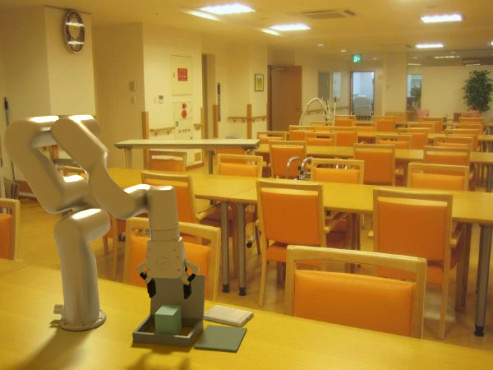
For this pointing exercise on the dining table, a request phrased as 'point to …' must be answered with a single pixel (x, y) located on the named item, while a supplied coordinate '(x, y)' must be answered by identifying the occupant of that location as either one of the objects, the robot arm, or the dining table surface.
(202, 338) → the mat
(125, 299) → the dining table surface
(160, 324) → the block
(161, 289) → the lid
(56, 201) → the robot arm
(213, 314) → the hard drive
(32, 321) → the dining table surface
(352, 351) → the dining table surface
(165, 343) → the case
